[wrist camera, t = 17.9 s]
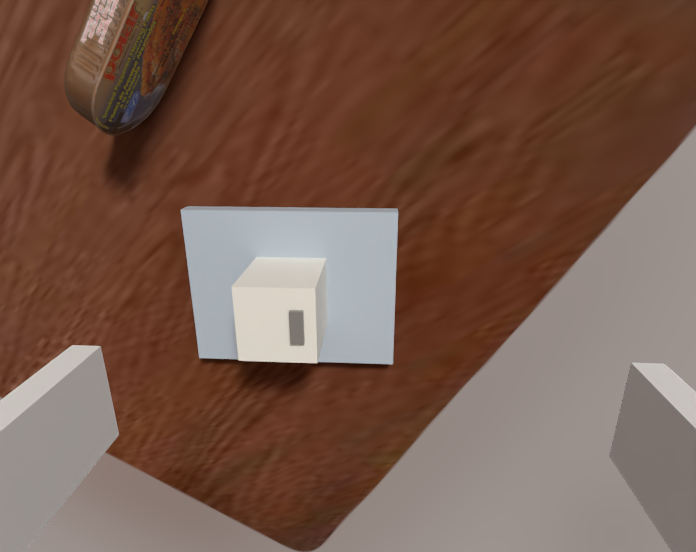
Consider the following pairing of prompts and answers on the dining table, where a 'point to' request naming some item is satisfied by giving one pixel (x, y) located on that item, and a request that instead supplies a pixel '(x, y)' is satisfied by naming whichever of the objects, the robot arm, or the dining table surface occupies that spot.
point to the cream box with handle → (281, 309)
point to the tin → (127, 58)
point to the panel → (297, 242)
